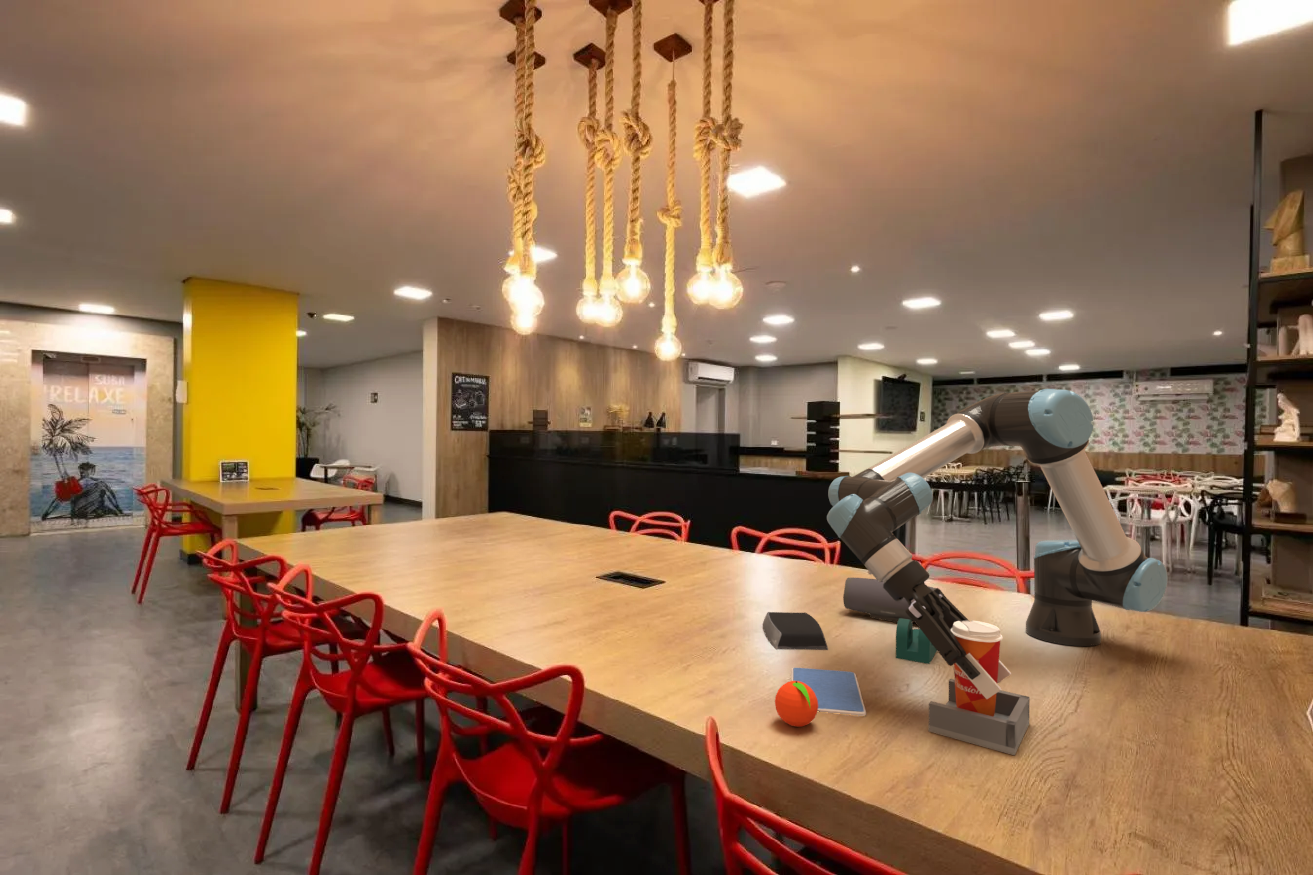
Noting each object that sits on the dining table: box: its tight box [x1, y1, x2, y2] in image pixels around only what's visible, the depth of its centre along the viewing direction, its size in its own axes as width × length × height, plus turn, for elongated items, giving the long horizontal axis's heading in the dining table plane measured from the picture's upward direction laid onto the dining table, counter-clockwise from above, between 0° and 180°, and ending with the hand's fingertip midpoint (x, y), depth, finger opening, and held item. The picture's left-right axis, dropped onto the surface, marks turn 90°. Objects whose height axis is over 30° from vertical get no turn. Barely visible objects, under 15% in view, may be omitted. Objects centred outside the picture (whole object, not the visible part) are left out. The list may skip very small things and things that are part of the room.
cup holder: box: [928, 678, 1031, 756], centre depth 104 cm, size 12×13×4 cm
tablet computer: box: [790, 667, 867, 717], centre depth 118 cm, size 19×13×1 cm, turn 168°
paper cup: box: [951, 620, 1004, 716], centre depth 104 cm, size 8×8×14 cm
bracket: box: [895, 618, 938, 665], centre depth 142 cm, size 18×7×8 cm, turn 148°
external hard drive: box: [762, 611, 829, 651], centre depth 151 cm, size 13×19×4 cm
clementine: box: [774, 680, 818, 728], centre depth 104 cm, size 8×7×7 cm
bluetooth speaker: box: [842, 577, 937, 623], centre depth 165 cm, size 23×9×10 cm, turn 58°
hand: (999, 685), depth 102 cm, fingers closed on paper cup, 8 cm apart
